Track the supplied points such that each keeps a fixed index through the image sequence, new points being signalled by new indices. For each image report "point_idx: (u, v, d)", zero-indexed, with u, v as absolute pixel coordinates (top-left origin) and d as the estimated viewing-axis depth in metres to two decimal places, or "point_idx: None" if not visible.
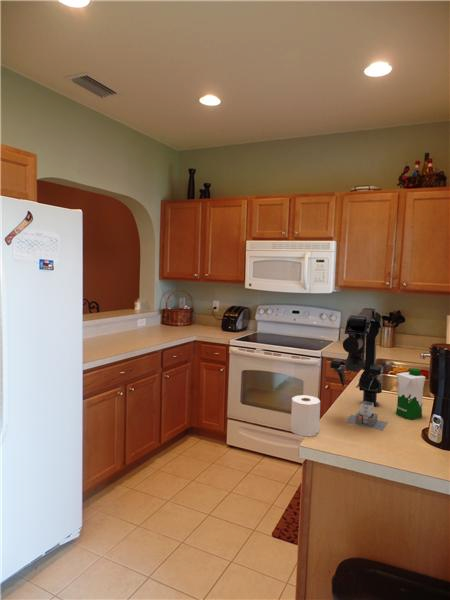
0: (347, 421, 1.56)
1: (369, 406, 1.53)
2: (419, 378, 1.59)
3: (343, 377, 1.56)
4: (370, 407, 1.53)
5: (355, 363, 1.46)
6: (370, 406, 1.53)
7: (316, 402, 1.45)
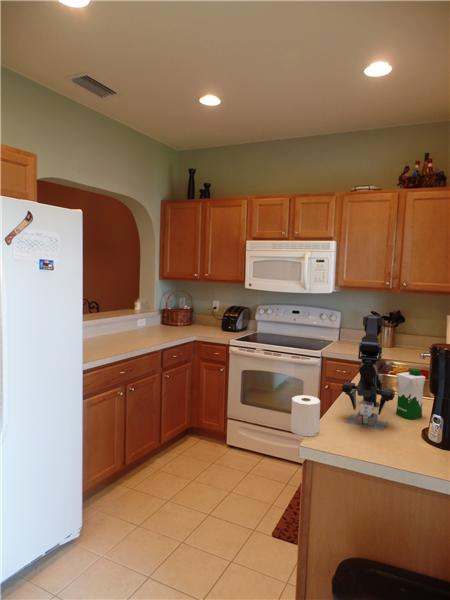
0: (347, 421, 1.56)
1: (369, 406, 1.53)
2: (419, 378, 1.59)
3: (354, 401, 1.58)
4: (370, 407, 1.53)
5: (367, 388, 1.47)
6: (370, 406, 1.53)
7: (316, 402, 1.45)
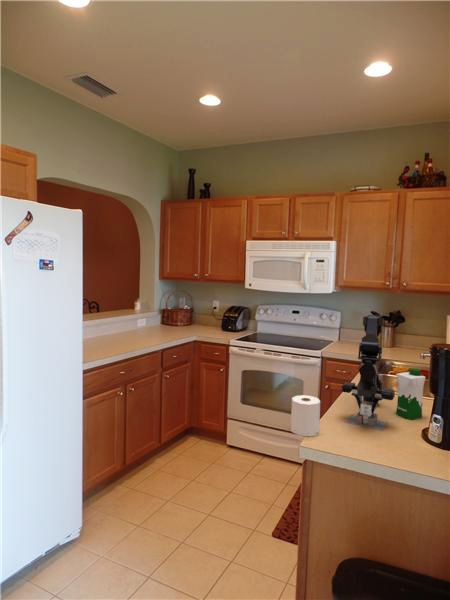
0: (347, 421, 1.56)
1: (369, 406, 1.53)
2: (419, 378, 1.59)
3: (361, 402, 1.57)
4: (370, 407, 1.53)
5: (367, 388, 1.47)
6: (370, 406, 1.53)
7: (316, 402, 1.45)
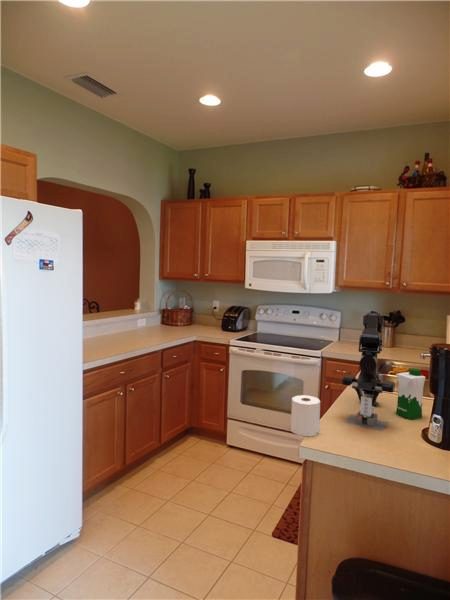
0: (347, 421, 1.56)
1: (369, 399, 1.53)
2: (419, 378, 1.59)
3: (361, 395, 1.56)
4: (370, 400, 1.53)
5: (367, 381, 1.47)
6: (370, 399, 1.53)
7: (316, 402, 1.45)
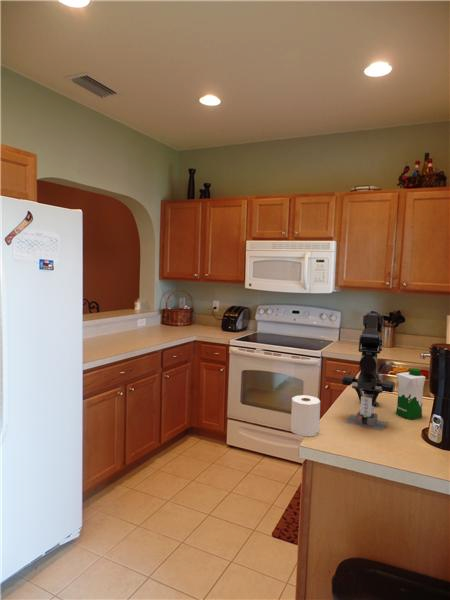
0: (347, 421, 1.56)
1: (369, 399, 1.53)
2: (419, 378, 1.59)
3: (361, 394, 1.56)
4: (370, 400, 1.53)
5: (367, 381, 1.47)
6: (370, 399, 1.53)
7: (316, 402, 1.45)
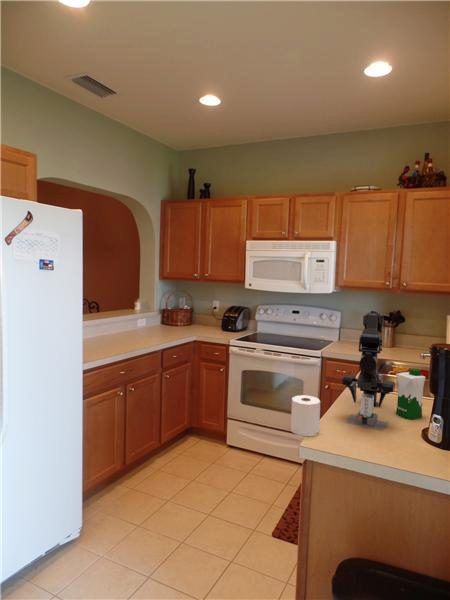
0: (347, 421, 1.56)
1: (369, 399, 1.53)
2: (419, 378, 1.59)
3: (355, 393, 1.58)
4: (370, 400, 1.53)
5: (367, 381, 1.47)
6: (370, 399, 1.53)
7: (316, 402, 1.45)
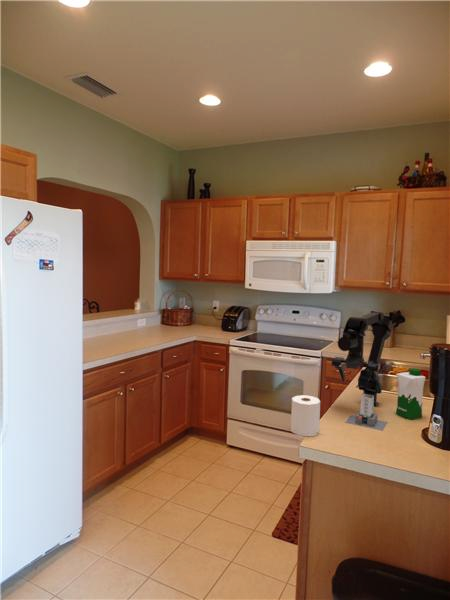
0: (347, 421, 1.56)
1: (369, 399, 1.53)
2: (419, 378, 1.59)
3: (343, 374, 1.70)
4: (370, 400, 1.53)
5: (355, 361, 1.59)
6: (370, 399, 1.53)
7: (316, 402, 1.45)
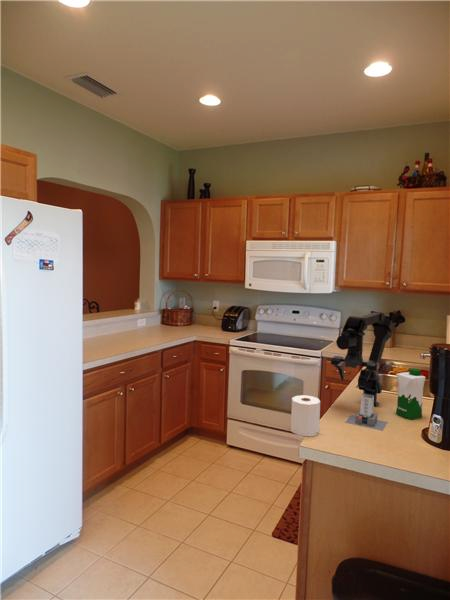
0: (347, 421, 1.56)
1: (369, 399, 1.53)
2: (419, 378, 1.59)
3: (342, 373, 1.71)
4: (370, 400, 1.53)
5: (353, 360, 1.60)
6: (370, 399, 1.53)
7: (316, 402, 1.45)
